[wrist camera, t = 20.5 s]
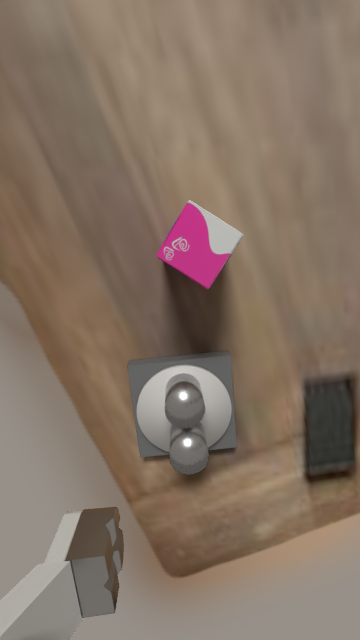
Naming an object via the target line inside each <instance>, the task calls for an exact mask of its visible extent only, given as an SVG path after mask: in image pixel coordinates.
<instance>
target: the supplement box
mask: <svg viewBox="0 0 360 640" xmlns="http://www.w3.org/2000/svg"><path fill="white" fill-rule="evenodd" d="M242 237H243V234H242V233H241V232H239V231H238V230H236V229H235V228H233V227H231V226H230V225H228V224H227V223H225V222H224V221H222V220H221V219H219V218H217V217H216V216H214V215H213V214H211V213H210V212H208V211H206V210H205V209H203V208H202V207H200V206H198V205H197V204H195V203H194V202H192V201H191V200H189V201H188V202H187V204H186V206H185V207H184V209H183V211H182V212H181V214H180V216H179V217H178V219H177V221H176V222H175V224H174V226H173V227H172V229H171V231H170V232H169V234H168V236H167V238H166V239H165V241H164V243H163V244H162V246H161V248H160V250H159V251H158V253H157V255H156V256H157V257H158V258H159V259H161V260H162V261H164V262H165V263H167V264H169V265H170V266H172V267H173V268H175V269H176V270H178V271H179V272H181V273H182V274H184V275H186V276H187V277H189V278H190V279H192V280H193V281H195V282H196V283H198V284H199V285H201V286H203V287H204V288H206V289H209V288H210V287H211V286H212V284H213V283H214V281H215V280H216V278H217V277H218V275H219V273H220V272H221V270H222V269H223V267H224V266H225V264H226V262H227V261H228V259H229V258H230V256H231V254H232V253H233V251H234V250H235V248H236V247H237V245H238V243H239V242H240V240H241V239H242Z"/></svg>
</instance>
